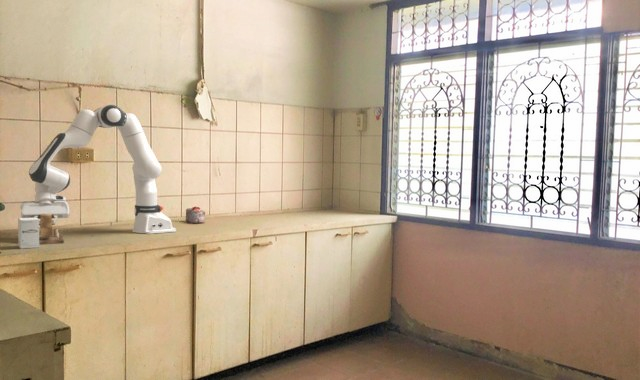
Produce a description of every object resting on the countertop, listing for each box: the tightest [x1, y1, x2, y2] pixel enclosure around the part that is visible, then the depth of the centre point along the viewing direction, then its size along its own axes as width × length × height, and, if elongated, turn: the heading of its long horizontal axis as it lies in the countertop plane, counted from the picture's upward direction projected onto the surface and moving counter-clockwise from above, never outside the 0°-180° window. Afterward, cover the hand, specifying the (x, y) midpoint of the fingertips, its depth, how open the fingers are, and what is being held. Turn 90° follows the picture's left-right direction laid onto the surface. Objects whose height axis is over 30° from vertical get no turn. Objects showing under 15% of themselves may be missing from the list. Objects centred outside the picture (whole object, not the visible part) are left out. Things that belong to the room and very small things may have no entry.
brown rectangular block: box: [40, 214, 53, 237], centre depth 245 cm, size 4×7×10 cm, turn 29°
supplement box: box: [17, 217, 40, 250], centre depth 232 cm, size 7×7×13 cm
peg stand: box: [39, 228, 65, 245], centre depth 246 cm, size 14×14×5 cm
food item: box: [185, 206, 206, 225], centre depth 320 cm, size 14×8×10 cm, turn 46°
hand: (46, 224), depth 245 cm, fingers closed on brown rectangular block, 4 cm apart
